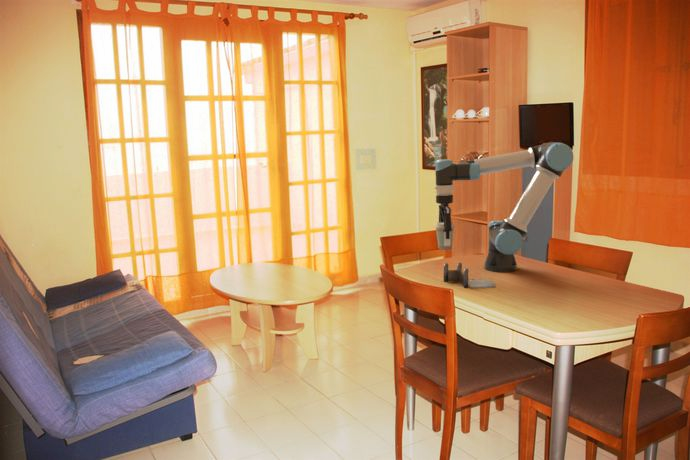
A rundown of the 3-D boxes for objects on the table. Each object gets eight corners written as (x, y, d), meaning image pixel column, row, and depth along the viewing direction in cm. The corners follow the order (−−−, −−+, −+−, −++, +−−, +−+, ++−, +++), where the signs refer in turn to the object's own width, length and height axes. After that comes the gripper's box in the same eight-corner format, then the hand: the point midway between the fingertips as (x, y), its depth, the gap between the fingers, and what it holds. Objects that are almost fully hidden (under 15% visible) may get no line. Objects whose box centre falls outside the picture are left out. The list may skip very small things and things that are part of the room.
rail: (460, 280, 264) (461, 262, 263) (468, 288, 252) (469, 269, 250) (443, 280, 264) (443, 263, 263) (450, 288, 251) (450, 270, 250)
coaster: (488, 280, 263) (488, 279, 262) (495, 287, 252) (495, 286, 252) (463, 281, 262) (463, 280, 262) (470, 288, 251) (470, 286, 251)
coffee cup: (453, 246, 275) (453, 221, 273) (455, 250, 266) (454, 224, 264) (435, 247, 276) (434, 221, 274) (435, 250, 267) (435, 224, 265)
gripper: (431, 192, 277) (432, 239, 281) (441, 197, 256) (441, 248, 260) (447, 191, 278) (448, 239, 281) (458, 196, 257) (458, 247, 260)
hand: (445, 243), depth 271 cm, fingers closed on coffee cup, 8 cm apart
